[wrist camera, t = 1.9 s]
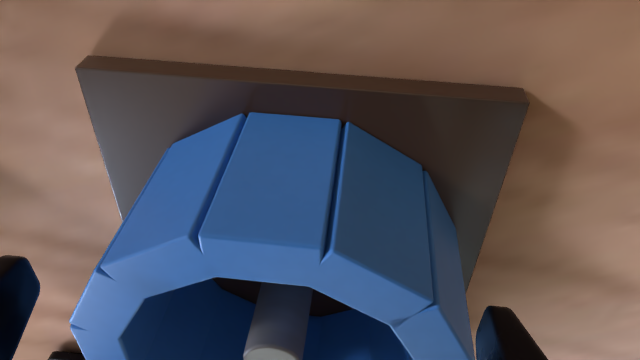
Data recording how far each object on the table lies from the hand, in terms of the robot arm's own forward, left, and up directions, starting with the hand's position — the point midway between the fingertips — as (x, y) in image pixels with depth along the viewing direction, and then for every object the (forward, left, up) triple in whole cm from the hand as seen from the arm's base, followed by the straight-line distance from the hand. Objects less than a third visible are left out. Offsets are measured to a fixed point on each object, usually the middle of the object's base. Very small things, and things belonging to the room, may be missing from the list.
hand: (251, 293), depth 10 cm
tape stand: (-4, 0, -6) cm, 8 cm away
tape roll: (-4, 0, -6) cm, 7 cm away
